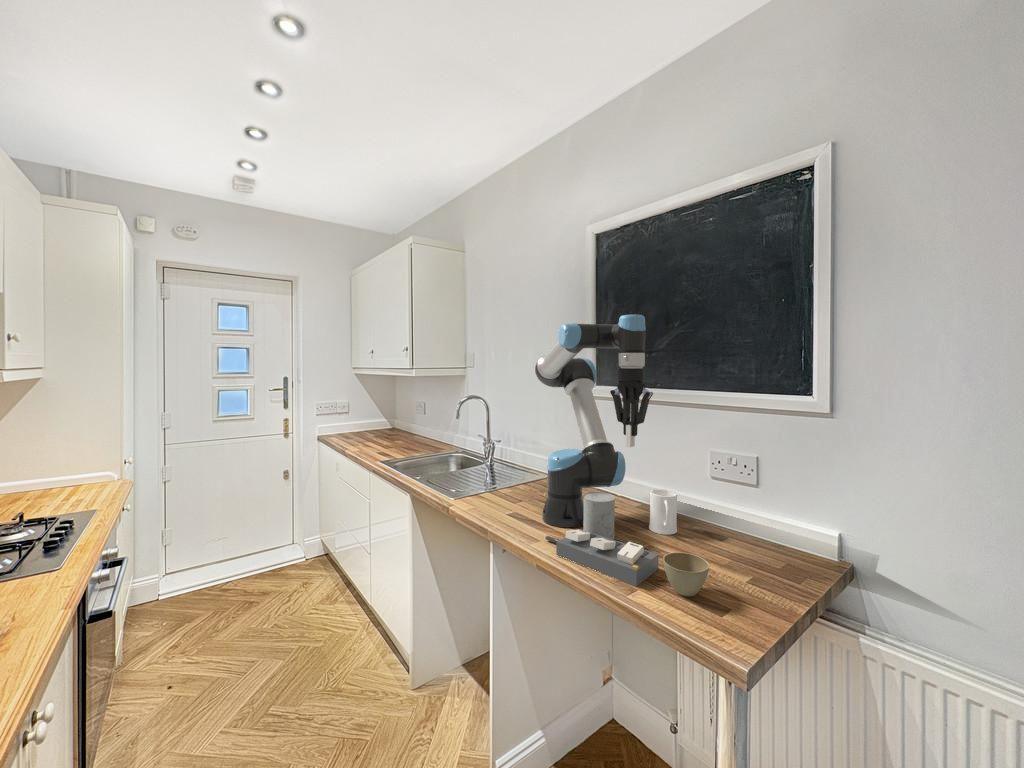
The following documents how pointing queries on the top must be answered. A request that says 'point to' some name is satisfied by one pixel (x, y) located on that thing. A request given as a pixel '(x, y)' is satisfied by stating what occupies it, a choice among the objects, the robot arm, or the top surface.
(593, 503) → the grey concrete cylinder
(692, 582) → the flower pot
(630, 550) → the rocker
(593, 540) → the block
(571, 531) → the rocker
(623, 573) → the power strip
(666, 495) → the mug
